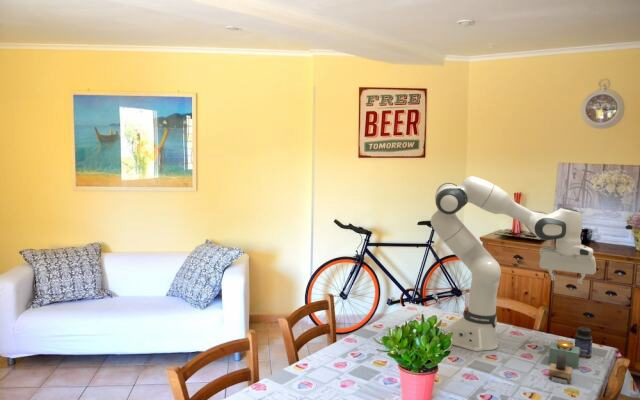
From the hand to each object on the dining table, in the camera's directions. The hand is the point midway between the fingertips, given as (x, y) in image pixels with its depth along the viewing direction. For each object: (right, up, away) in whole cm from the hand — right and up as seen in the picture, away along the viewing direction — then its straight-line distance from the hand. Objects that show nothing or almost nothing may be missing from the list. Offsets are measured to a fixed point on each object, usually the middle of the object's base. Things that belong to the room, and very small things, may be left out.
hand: (566, 282), depth 194 cm
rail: (-10, -32, -16) cm, 37 cm away
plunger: (-4, -29, -6) cm, 29 cm away
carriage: (-12, -32, -19) cm, 39 cm away
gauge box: (-4, -31, -5) cm, 31 cm away
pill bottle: (+7, -30, +1) cm, 31 cm away
